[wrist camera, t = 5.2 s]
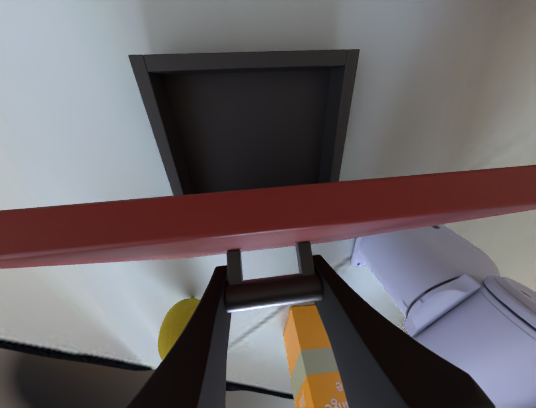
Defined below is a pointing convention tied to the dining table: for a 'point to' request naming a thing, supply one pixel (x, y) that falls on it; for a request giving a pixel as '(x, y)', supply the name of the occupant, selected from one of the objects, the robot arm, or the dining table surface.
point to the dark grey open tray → (248, 116)
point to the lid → (258, 224)
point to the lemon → (175, 324)
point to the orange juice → (312, 361)
